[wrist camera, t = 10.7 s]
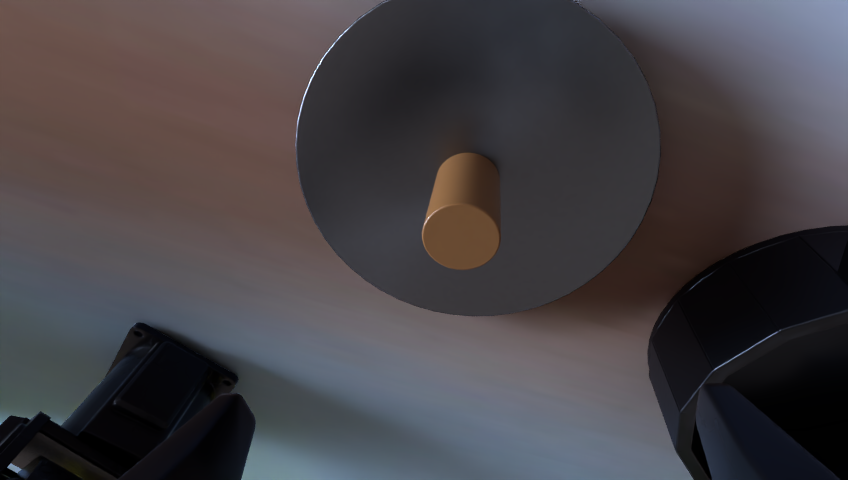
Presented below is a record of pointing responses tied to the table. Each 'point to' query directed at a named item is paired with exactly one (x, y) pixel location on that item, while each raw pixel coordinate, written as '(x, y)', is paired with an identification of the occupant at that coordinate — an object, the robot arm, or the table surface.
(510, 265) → the pan lid
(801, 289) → the pan
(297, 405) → the table surface
